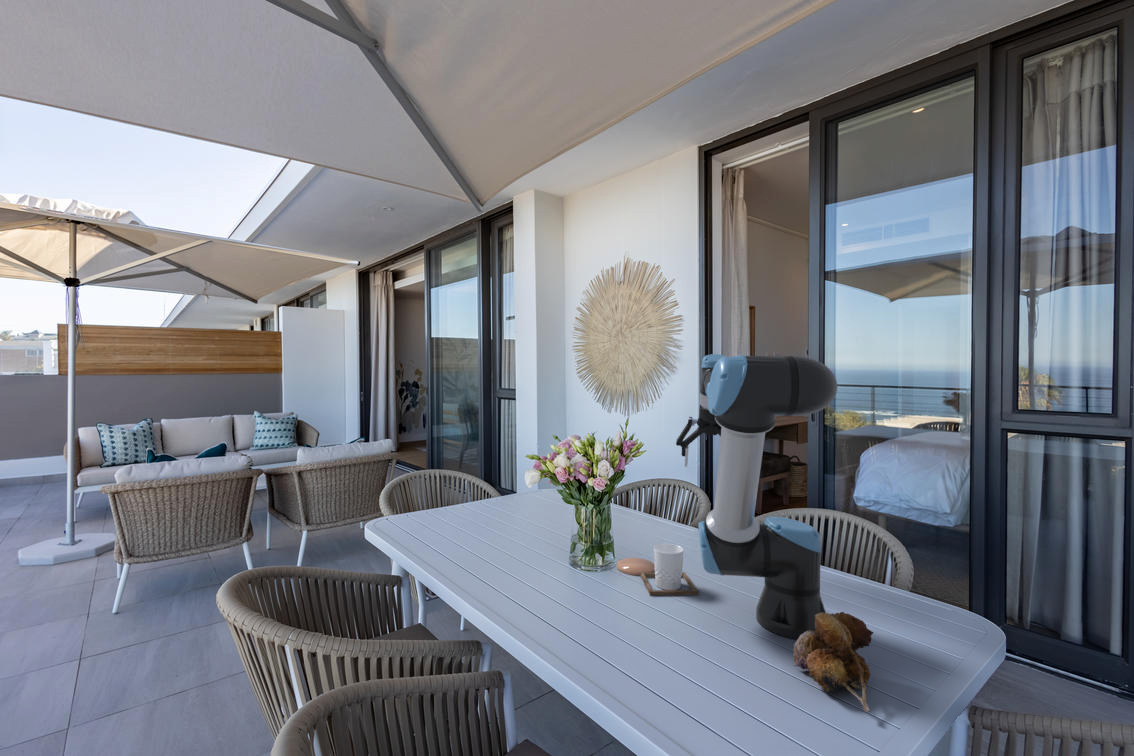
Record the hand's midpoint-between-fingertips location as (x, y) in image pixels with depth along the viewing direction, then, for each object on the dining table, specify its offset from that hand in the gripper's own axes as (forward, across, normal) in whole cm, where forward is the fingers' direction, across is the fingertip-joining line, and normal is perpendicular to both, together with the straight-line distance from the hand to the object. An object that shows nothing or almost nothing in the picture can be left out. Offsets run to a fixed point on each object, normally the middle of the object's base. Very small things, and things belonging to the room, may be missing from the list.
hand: (708, 467), depth 160 cm
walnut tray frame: (+17, +8, +34) cm, 39 cm away
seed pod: (+3, -25, +66) cm, 71 cm away
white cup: (+17, +8, +35) cm, 40 cm away
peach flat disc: (+21, +19, +26) cm, 38 cm away
